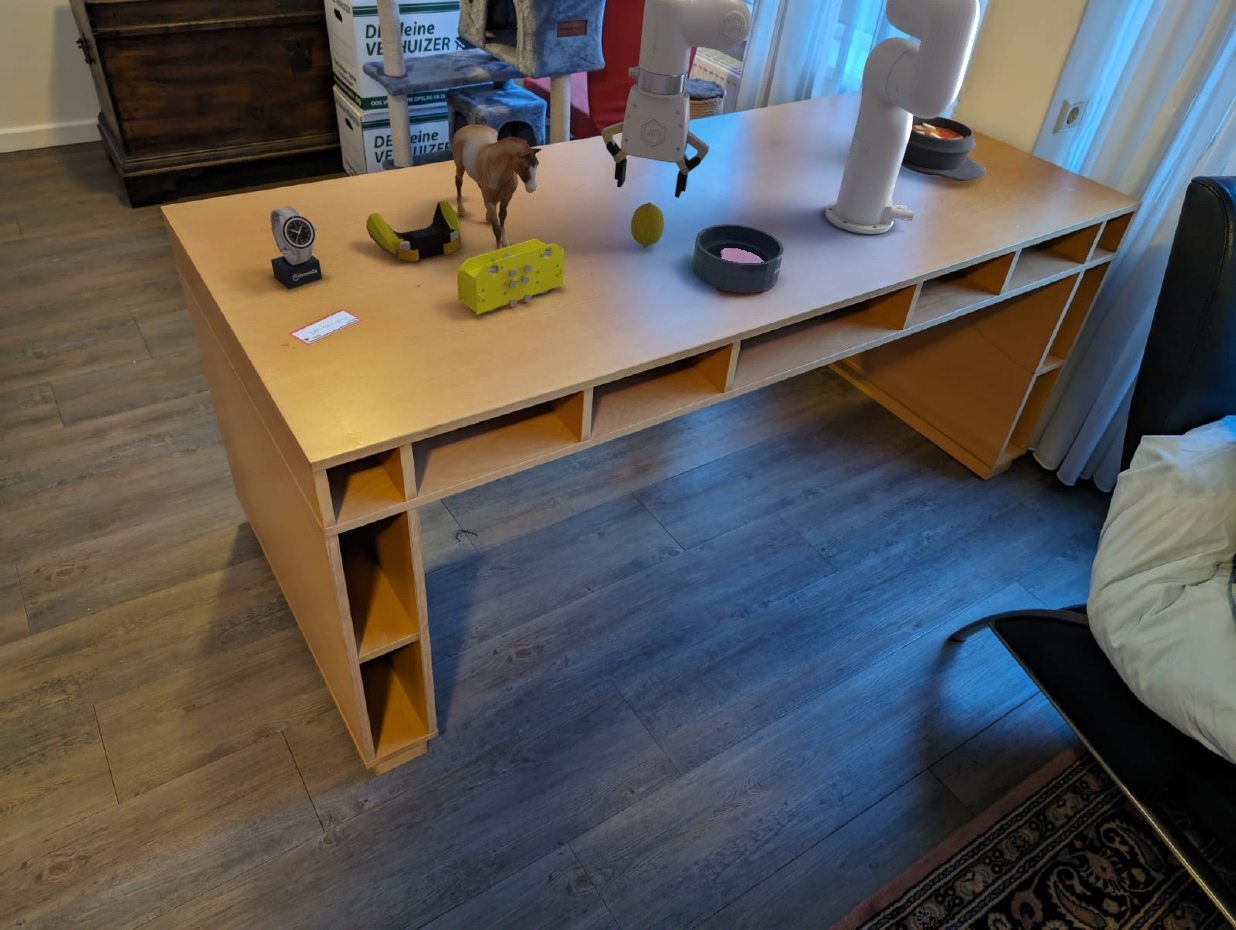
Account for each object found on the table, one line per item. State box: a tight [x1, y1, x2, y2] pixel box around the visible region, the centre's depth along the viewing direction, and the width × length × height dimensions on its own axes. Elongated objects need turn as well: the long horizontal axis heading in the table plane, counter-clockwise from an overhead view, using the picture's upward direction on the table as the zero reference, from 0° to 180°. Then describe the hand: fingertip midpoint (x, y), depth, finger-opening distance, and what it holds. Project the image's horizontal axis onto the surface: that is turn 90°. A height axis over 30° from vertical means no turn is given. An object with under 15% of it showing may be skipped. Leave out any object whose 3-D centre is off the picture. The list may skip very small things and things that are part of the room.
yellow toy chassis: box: [456, 238, 565, 315], centre depth 131 cm, size 16×6×8 cm, turn 131°
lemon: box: [630, 202, 665, 248], centre depth 148 cm, size 6×6×8 cm
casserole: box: [901, 115, 987, 182], centre depth 187 cm, size 25×19×8 cm
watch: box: [269, 205, 323, 290], centre depth 130 cm, size 6×8×11 cm
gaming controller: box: [365, 200, 462, 262], centre depth 142 cm, size 15×6×10 cm
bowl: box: [691, 223, 785, 294], centre depth 144 cm, size 14×14×6 cm
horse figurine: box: [452, 124, 542, 250], centre depth 142 cm, size 31×8×21 cm, turn 23°
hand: (649, 189), depth 143 cm, fingers open, 9 cm apart
